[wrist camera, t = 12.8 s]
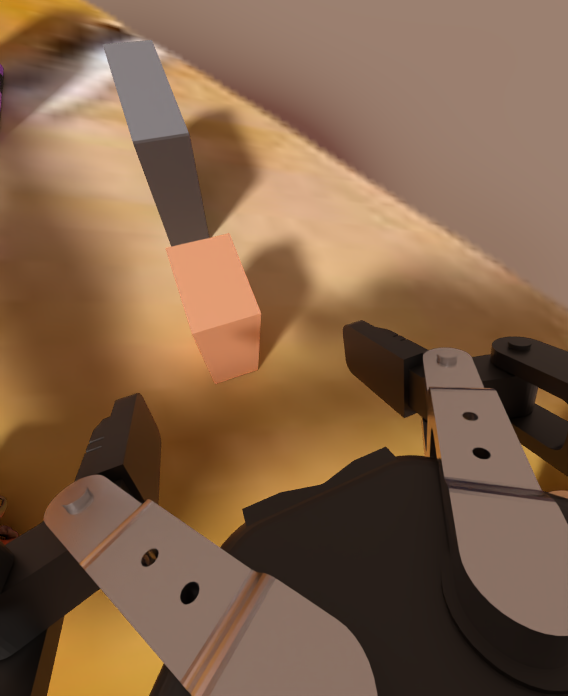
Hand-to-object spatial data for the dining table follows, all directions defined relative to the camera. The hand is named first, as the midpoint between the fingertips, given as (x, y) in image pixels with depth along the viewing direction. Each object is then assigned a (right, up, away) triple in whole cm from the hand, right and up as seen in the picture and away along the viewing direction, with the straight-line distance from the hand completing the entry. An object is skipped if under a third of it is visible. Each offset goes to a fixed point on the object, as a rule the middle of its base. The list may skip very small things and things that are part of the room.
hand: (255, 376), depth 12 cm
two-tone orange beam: (-4, +1, +17) cm, 17 cm away
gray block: (-11, +18, +22) cm, 31 cm away
